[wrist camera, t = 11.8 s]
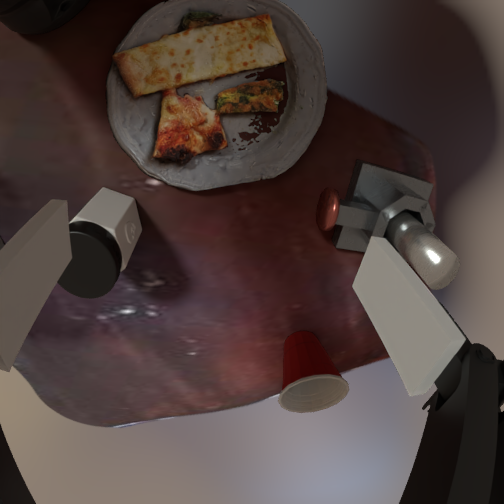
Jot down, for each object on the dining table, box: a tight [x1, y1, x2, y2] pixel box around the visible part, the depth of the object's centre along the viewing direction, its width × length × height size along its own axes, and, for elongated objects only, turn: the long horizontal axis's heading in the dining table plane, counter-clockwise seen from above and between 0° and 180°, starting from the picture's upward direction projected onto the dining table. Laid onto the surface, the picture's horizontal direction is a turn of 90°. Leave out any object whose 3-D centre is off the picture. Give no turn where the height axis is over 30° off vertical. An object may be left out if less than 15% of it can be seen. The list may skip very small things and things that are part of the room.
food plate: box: [106, 0, 328, 191], centre depth 31 cm, size 25×23×4 cm
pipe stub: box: [384, 209, 460, 290], centre depth 35 cm, size 4×4×14 cm
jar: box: [57, 187, 142, 298], centre depth 34 cm, size 9×8×12 cm
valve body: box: [316, 159, 435, 262], centre depth 39 cm, size 12×16×7 cm
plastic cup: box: [278, 331, 349, 413], centre depth 49 cm, size 11×11×12 cm
